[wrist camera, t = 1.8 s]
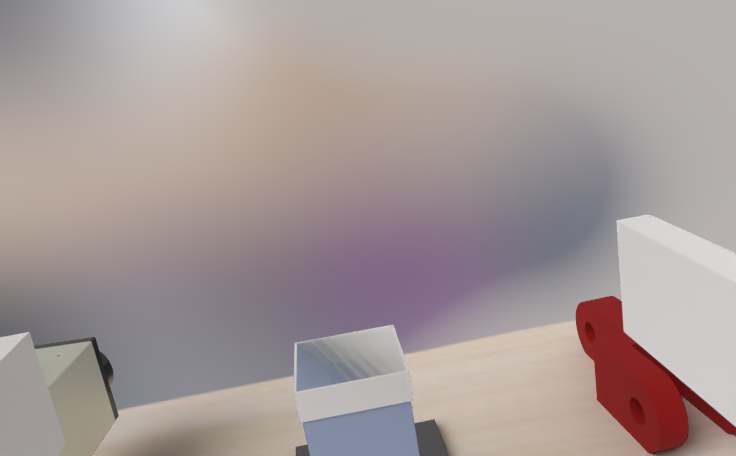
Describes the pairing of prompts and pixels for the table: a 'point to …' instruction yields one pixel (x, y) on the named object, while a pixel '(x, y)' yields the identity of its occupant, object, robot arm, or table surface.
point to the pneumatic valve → (79, 392)
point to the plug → (355, 395)
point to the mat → (427, 439)
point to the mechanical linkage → (637, 380)
